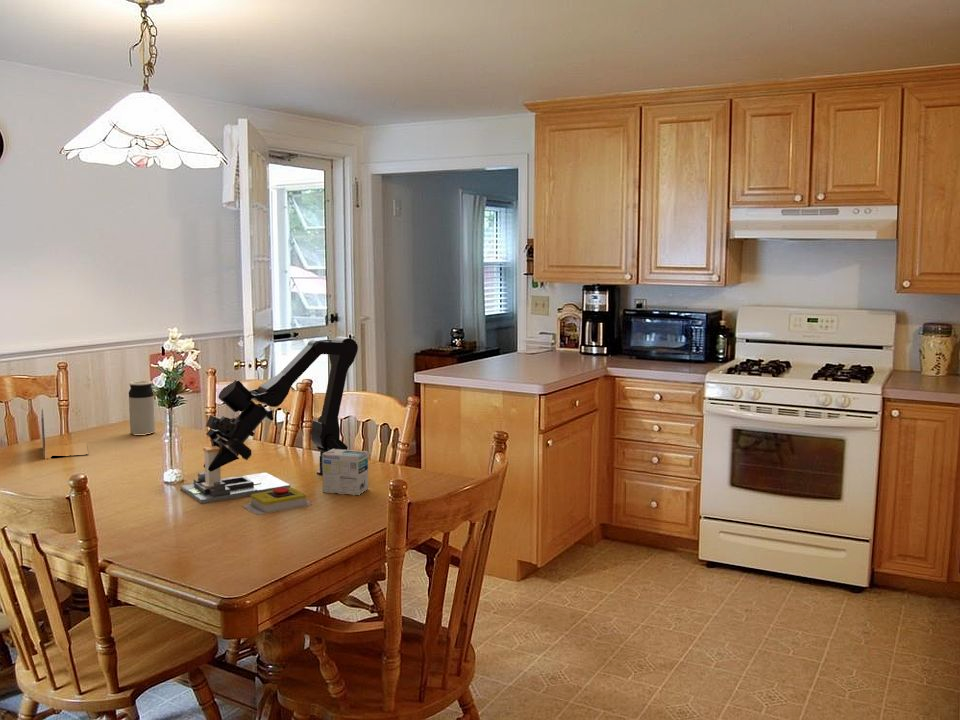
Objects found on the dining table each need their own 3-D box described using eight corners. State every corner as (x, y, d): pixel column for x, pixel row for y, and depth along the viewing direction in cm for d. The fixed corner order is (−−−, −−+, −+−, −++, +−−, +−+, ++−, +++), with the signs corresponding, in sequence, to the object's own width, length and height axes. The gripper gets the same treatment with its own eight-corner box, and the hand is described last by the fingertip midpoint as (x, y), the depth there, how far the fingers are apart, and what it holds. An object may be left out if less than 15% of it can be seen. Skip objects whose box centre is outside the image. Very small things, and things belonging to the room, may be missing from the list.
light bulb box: (369, 489, 227) (369, 450, 226) (359, 496, 221) (359, 456, 220) (332, 486, 230) (332, 447, 229) (321, 493, 224) (321, 453, 222)
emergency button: (312, 489, 213) (256, 499, 204) (313, 506, 214) (256, 517, 205) (296, 481, 220) (241, 490, 211) (296, 497, 221) (241, 507, 212)
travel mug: (159, 431, 297) (157, 380, 295) (147, 436, 289) (145, 384, 287) (138, 430, 298) (136, 380, 296) (125, 435, 290) (123, 383, 288)
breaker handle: (219, 484, 226) (218, 445, 225) (225, 487, 223) (224, 448, 221) (201, 487, 223) (199, 447, 222) (206, 491, 220) (205, 450, 218)
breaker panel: (266, 475, 240) (265, 462, 240) (290, 488, 228) (289, 474, 227) (180, 489, 226) (180, 474, 225) (201, 503, 213) (200, 488, 213)
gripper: (212, 398, 230) (172, 444, 225) (238, 409, 215) (196, 457, 210) (241, 424, 236) (203, 468, 230) (268, 435, 221) (228, 483, 216)
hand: (207, 469), depth 221 cm, fingers closed on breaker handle, 3 cm apart
